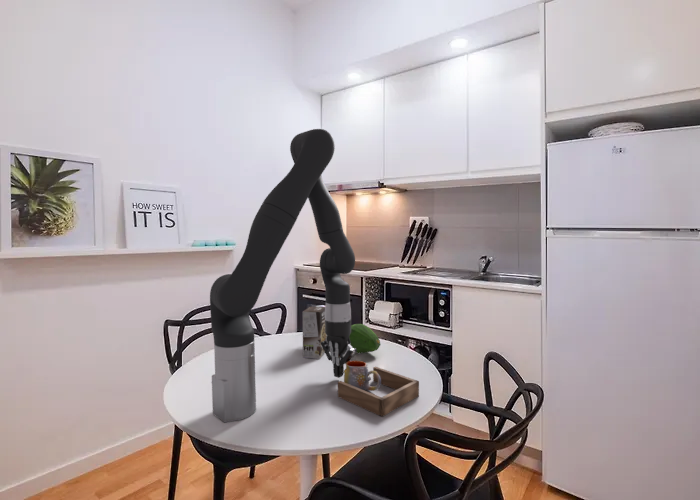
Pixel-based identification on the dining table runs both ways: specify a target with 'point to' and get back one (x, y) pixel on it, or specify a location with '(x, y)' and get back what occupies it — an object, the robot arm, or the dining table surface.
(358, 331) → the fruit
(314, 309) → the coffee box
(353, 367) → the mug
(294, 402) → the dining table surface
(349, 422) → the dining table surface
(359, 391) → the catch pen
